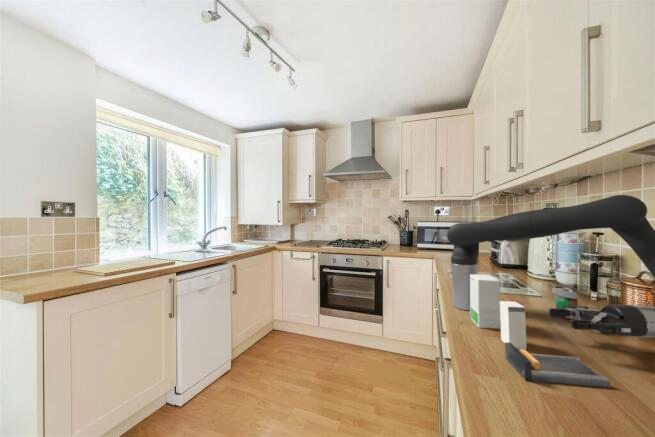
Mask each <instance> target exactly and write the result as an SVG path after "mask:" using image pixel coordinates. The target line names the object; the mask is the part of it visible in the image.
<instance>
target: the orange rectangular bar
mask: <svg viewBox="0 0 655 437" xmlns="http://www.w3.org/2000/svg"><path fill="white" fill-rule="evenodd" d="M519 351H520V352H521V353H522V354H523V355H524V356H525V357H526V358H527V359H528V360H530V361H531V367H532V369H533V370H536V371H540V363H539V362H538V361H537V360H536V359H535V358H534V357H533V356H532V355H530V354H531V353H529V351H527V349H519Z"/></svg>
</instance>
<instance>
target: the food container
mask: <svg viewBox="0 0 655 437" xmlns="http://www.w3.org/2000/svg"><path fill="white" fill-rule="evenodd" d="M551 293H552V294H554V295H553V296H554V302H555V308H558V309H562V306H578V305H579V304H578V303H579V302H578V292H577V291H576V290H575V288H574V285H573V284H557V285H554V286H553V287H552V288H551ZM570 313H572V311H570ZM562 318H564V319H563V320H565V319H567V320H566V321H569V320H572V319H573V318H567V317H561V319H562Z"/></svg>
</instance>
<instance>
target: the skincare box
mask: <svg viewBox="0 0 655 437" xmlns="http://www.w3.org/2000/svg"><path fill="white" fill-rule="evenodd" d="M500 285H501V284H500V280H499V279H497V278H496V277H494V276H492V275H491V274H478V275H475V274H470V310H469V318H470V320H471V321H472V322H473V323H474V324H475V325H476V326H477V327H478V328H480V329H494V330H495V329H496V330H501V323H500V301H501V297H500V295H501V290H500V289H501V288H500V287H501V286H500Z"/></svg>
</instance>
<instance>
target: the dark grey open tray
mask: <svg viewBox="0 0 655 437" xmlns="http://www.w3.org/2000/svg"><path fill="white" fill-rule="evenodd" d="M504 351H505V353H504V354H505V359H506V361H507V362H508V363H509V364H510V366H512V367H513V369H514V370H516V372H517V373H518V374H519V375H520V376H521V377H522V378H523V379H524V381H528V382H536V383H537V382H538V383H547V384H548V383H550V384H561V385H562V384H563V385H571V386H584V387H593V388H594V387H595V388H604V389H605V388H606V389H611V383H610V382H609V377H608V376H606V375H599V374H598V373H597V372H595V371H593V370H592V369H591V368H589V367H588V366H587V365H585V364H584V363H582V362H581V358H580V357H579V356H566V355H553V354H552V355H551V354H537V353H529V354H530V355H532V356H533V357H534V358H535V359H536V360H537V361H538V362H539V363H540V371H536V370H533V369H532V367H531V361H530V360H528V359H527V358H526V357H525V356H524V355H523V354H522V353H521V352H520V349H518V348H516V347H515V346H514V345H513V344H511V343H509V342H505V343H504Z"/></svg>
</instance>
